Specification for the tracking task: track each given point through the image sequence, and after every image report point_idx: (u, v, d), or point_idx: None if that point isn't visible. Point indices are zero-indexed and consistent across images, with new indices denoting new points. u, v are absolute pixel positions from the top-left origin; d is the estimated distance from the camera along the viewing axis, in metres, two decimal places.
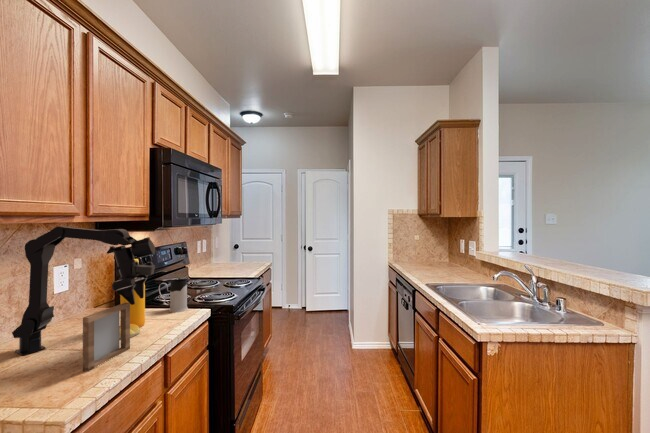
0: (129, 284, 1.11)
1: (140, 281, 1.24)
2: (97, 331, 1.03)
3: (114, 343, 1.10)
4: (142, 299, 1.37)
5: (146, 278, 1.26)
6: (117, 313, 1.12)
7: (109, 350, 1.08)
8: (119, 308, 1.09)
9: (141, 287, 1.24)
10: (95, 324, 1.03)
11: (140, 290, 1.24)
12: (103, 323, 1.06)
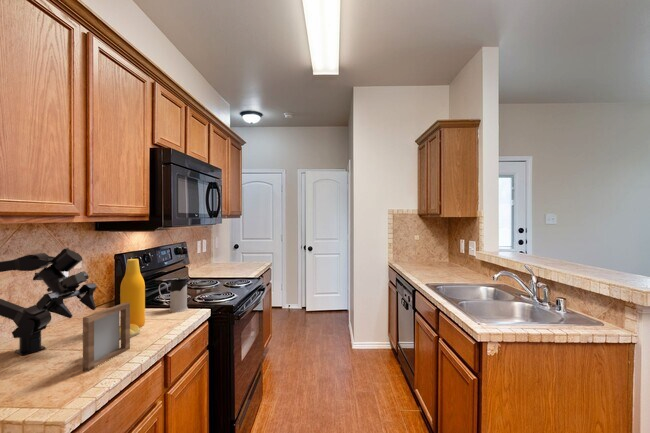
0: (48, 298, 1.03)
1: (86, 294, 1.17)
2: (97, 331, 1.03)
3: (114, 343, 1.10)
4: (142, 299, 1.37)
5: (91, 289, 1.18)
6: (117, 313, 1.12)
7: (109, 350, 1.08)
8: (119, 308, 1.09)
9: (89, 299, 1.17)
10: (95, 324, 1.03)
11: (89, 302, 1.17)
12: (103, 323, 1.06)
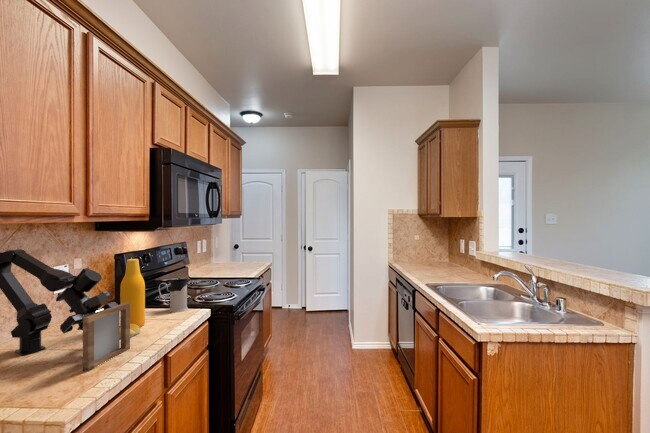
0: (72, 321, 1.02)
1: None
2: (97, 331, 1.03)
3: (114, 343, 1.10)
4: (142, 299, 1.37)
5: None
6: (117, 313, 1.12)
7: (109, 350, 1.08)
8: (119, 308, 1.09)
9: None
10: (95, 324, 1.03)
11: None
12: (103, 323, 1.06)
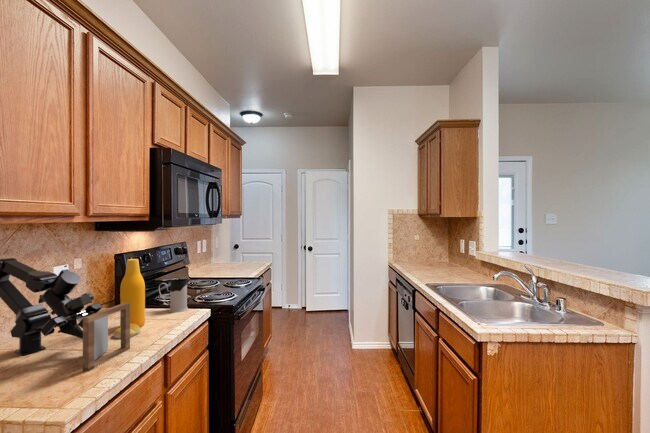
0: (53, 323, 1.00)
1: None
2: None
3: (104, 343, 1.10)
4: (142, 299, 1.37)
5: (90, 312, 1.12)
6: None
7: (101, 350, 1.08)
8: (119, 308, 1.09)
9: None
10: None
11: None
12: (97, 323, 1.06)
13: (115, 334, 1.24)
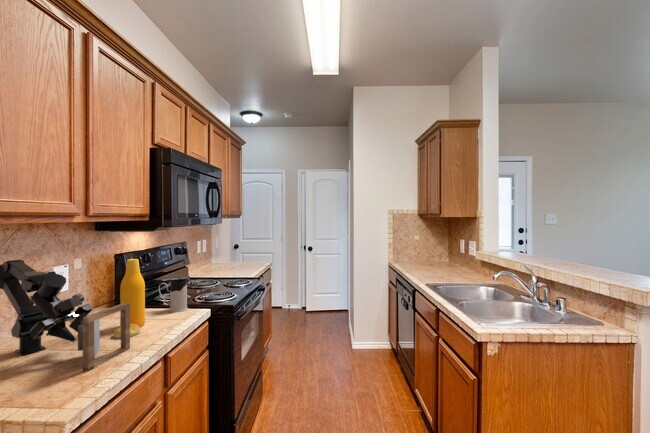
0: (42, 326, 0.98)
1: (76, 319, 1.10)
2: None
3: (97, 344, 1.10)
4: (142, 299, 1.37)
5: (81, 313, 1.11)
6: None
7: (95, 350, 1.08)
8: (119, 308, 1.09)
9: None
10: None
11: None
12: None
13: (115, 334, 1.24)
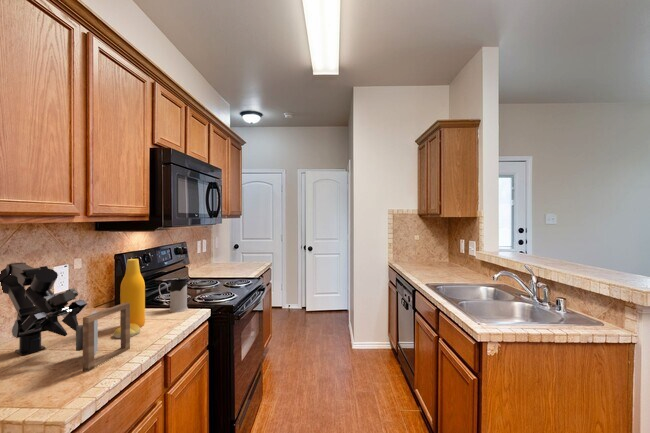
0: (34, 319, 0.98)
1: (69, 314, 1.10)
2: None
3: (96, 344, 1.09)
4: (142, 299, 1.37)
5: (75, 308, 1.11)
6: None
7: (94, 350, 1.07)
8: (119, 308, 1.09)
9: (72, 320, 1.09)
10: None
11: (72, 323, 1.09)
12: None
13: (115, 334, 1.24)
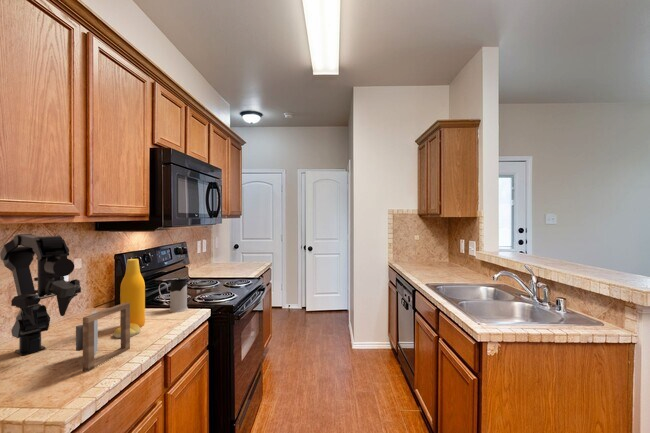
0: (26, 304, 0.96)
1: (66, 297, 1.11)
2: None
3: (96, 344, 1.09)
4: (142, 299, 1.37)
5: (73, 295, 1.11)
6: None
7: (94, 350, 1.07)
8: (119, 308, 1.09)
9: (64, 304, 1.10)
10: None
11: (62, 307, 1.10)
12: None
13: (115, 334, 1.24)
